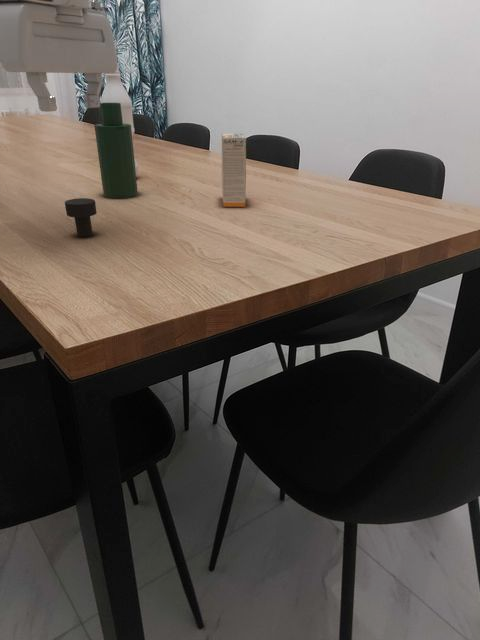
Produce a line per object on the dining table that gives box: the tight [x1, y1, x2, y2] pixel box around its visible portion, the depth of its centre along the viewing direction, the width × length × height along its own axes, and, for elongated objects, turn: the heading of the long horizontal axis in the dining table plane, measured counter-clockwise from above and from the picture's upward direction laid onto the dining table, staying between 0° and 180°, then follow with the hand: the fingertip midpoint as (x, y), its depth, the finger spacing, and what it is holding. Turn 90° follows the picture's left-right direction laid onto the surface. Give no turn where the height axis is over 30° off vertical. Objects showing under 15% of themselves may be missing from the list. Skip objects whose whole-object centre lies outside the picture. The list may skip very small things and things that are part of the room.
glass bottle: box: [94, 102, 139, 200], centre depth 105 cm, size 7×7×18 cm
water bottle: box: [100, 63, 139, 178], centre depth 120 cm, size 7×7×25 cm
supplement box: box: [221, 133, 247, 208], centre depth 102 cm, size 8×5×13 cm, turn 5°
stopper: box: [64, 197, 98, 238], centre depth 81 cm, size 5×5×6 cm
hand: (71, 109), depth 72 cm, fingers open, 8 cm apart
